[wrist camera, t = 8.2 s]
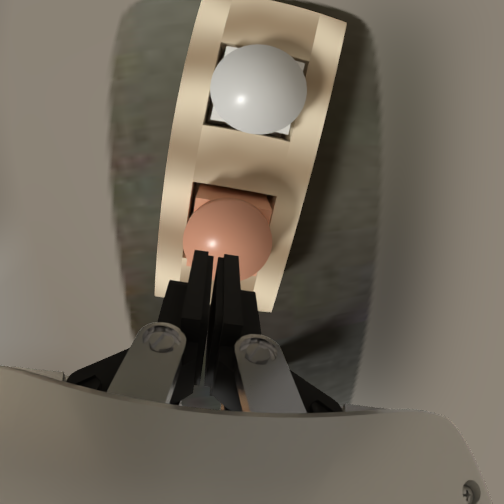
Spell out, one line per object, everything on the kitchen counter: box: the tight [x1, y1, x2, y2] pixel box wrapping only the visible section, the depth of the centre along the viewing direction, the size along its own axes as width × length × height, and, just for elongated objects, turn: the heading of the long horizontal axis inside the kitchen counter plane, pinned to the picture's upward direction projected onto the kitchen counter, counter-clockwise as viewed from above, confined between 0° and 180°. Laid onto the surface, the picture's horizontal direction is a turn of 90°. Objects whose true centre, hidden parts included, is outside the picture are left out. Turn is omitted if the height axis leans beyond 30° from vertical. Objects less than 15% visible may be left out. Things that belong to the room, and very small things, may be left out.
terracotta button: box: [183, 183, 272, 281], centre depth 22 cm, size 6×6×6 cm
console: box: [155, 0, 347, 312], centre depth 22 cm, size 24×10×5 cm, turn 168°
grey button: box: [210, 44, 307, 135], centre depth 19 cm, size 6×6×6 cm
